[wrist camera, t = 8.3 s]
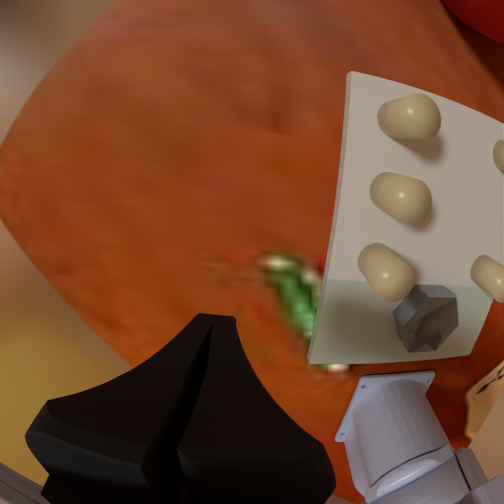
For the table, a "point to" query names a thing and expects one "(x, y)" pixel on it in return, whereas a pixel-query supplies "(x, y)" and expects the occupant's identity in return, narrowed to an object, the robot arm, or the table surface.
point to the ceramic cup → (481, 16)
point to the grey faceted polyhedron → (426, 318)
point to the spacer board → (430, 164)
